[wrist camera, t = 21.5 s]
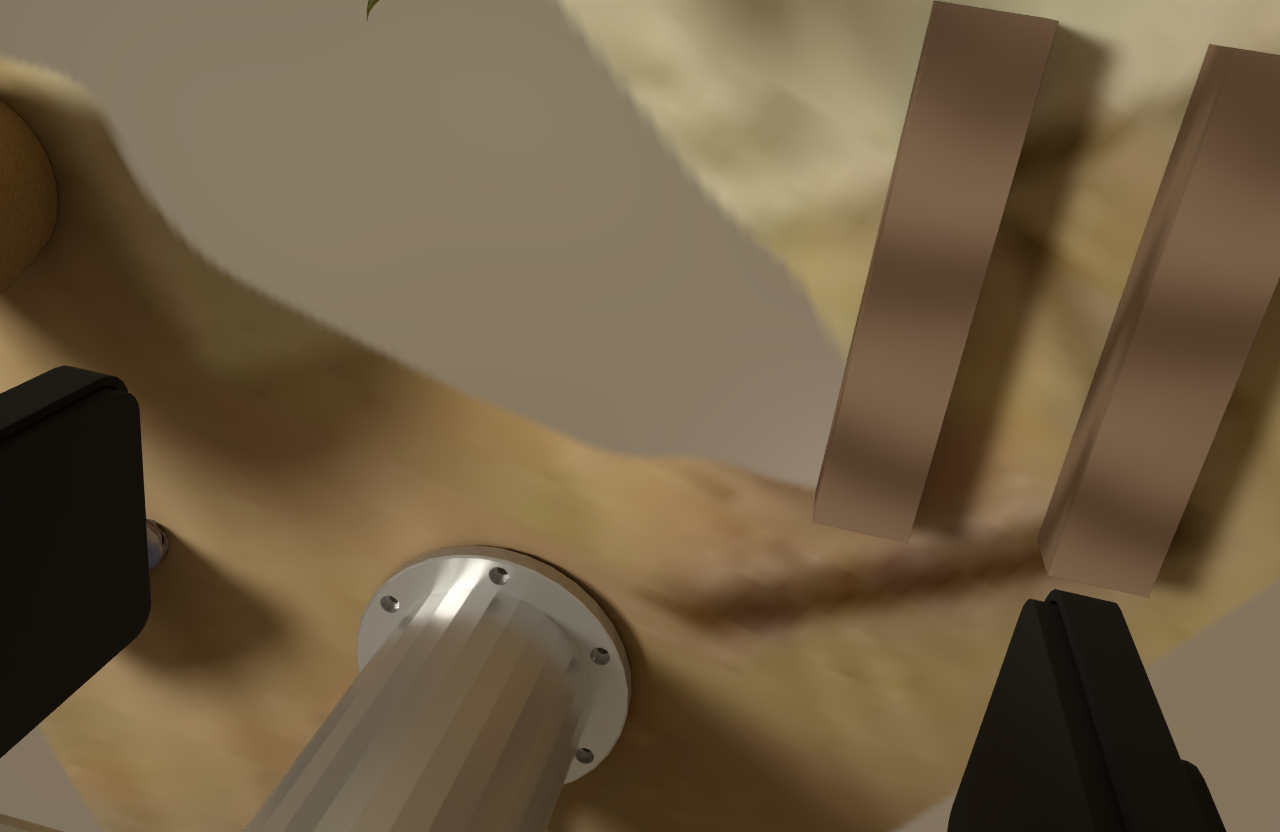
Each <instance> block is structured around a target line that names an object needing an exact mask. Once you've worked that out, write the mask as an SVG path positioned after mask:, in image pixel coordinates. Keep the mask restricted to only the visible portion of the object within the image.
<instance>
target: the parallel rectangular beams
mask: <svg viewBox="0 0 1280 832" xmlns="http://www.w3.org/2000/svg"><path fill="white" fill-rule="evenodd" d="M1058 22H1059V21H1057V20H1052V19H1046V18H1040V17H1034V16H1028V15H1021V14H1015V13H1009V12H1002V11H996V10H990V9H983V8H977V7H971V6H964V5H958V4H952V3H945V2H939V1H934V2H933V7H932V11H931V15H930V19H929V23H928V27H927V32H926V36H925V40H924V44H923V48H922V52H921V56H920V61H919V65H918V69H917V73H916V77H915V81H914V85H913V90H912V94H911V98H910V102H909V106H908V110H907V115H906V119H905V123H904V127H903V131H902V135H901V139H900V144H899V148H898V152H897V156H896V160H895V164H894V168H893V173H892V177H891V181H890V185H889V189H888V193H887V198H886V202H885V206H884V210H883V214H882V218H881V222H880V227H879V231H878V235H877V239H876V243H875V247H874V251H873V256H872V260H871V264H870V268H869V272H868V276H867V281H866V285H865V289H864V293H863V297H862V301H861V305H860V310H859V314H858V318H857V322H856V326H855V330H854V334H853V339H852V343H851V347H850V351H849V355H848V359H847V364H846V368H845V372H844V376H843V380H842V385H841V388H840V393H839V397H838V401H837V405H836V409H835V413H834V417H833V422H832V426H831V430H830V434H829V438H828V442H827V446H826V451H825V455H824V459H823V463H822V467H821V472H820V476H819V480H818V484H817V488H816V493H815V503H814V512H813V521H812V522H813V523H818V524H822V525H827V526H831V527H836V528H840V529H845V530H849V531H853V532H858V533H862V534H867V535H871V536H876V537H880V538H885V539H889V540H893V541H898V542H902V543H907V544H908V541H909V537H910V534H911V530H912V527H913V524H914V520H915V517H916V513H917V510H918V506H919V503H920V499H921V496H922V492H923V489H924V485H925V482H926V479H927V475H928V472H929V468H930V465H931V461H932V458H933V454H934V451H935V447H936V444H937V440H938V437H939V434H940V430H941V427H942V423H943V420H944V416H945V413H946V409H947V406H948V402H949V399H950V395H951V392H952V389H953V385H954V382H955V378H956V375H957V371H958V368H959V364H960V361H961V357H962V354H963V350H964V347H965V344H966V340H967V337H968V333H969V330H970V326H971V323H972V319H973V316H974V312H975V309H976V305H977V302H978V299H979V295H980V292H981V288H982V285H983V281H984V278H985V274H986V271H987V267H988V264H989V260H990V257H991V254H992V250H993V247H994V243H995V240H996V236H997V233H998V229H999V226H1000V222H1001V219H1002V215H1003V212H1004V209H1005V205H1006V202H1007V198H1008V195H1009V191H1010V188H1011V184H1012V181H1013V177H1014V174H1015V170H1016V167H1017V164H1018V160H1019V157H1020V153H1021V150H1022V146H1023V143H1024V139H1025V136H1026V132H1027V129H1028V125H1029V122H1030V119H1031V115H1032V112H1033V108H1034V105H1035V101H1036V98H1037V94H1038V91H1039V87H1040V84H1041V80H1042V77H1043V74H1044V70H1045V67H1046V63H1047V60H1048V56H1049V53H1050V49H1051V46H1052V42H1053V39H1054V35H1055V32H1056V29H1057V25H1058ZM1279 278H1280V55H1275V54H1268V53H1262V52H1256V51H1249V50H1243V49H1237V48H1230V47H1224V46H1218V45H1211V44H1209V47H1208V50H1207V53H1206V56H1205V59H1204V61H1203V64H1202V67H1201V70H1200V73H1199V76H1198V79H1197V82H1196V84H1195V87H1194V90H1193V93H1192V96H1191V99H1190V102H1189V105H1188V108H1187V110H1186V113H1185V116H1184V119H1183V122H1182V125H1181V128H1180V131H1179V133H1178V136H1177V139H1176V142H1175V145H1174V148H1173V151H1172V154H1171V156H1170V159H1169V162H1168V165H1167V168H1166V171H1165V174H1164V177H1163V179H1162V182H1161V185H1160V188H1159V191H1158V194H1157V197H1156V200H1155V202H1154V205H1153V208H1152V211H1151V214H1150V217H1149V220H1148V223H1147V225H1146V228H1145V231H1144V234H1143V237H1142V240H1141V243H1140V246H1139V248H1138V251H1137V254H1136V257H1135V260H1134V263H1133V266H1132V269H1131V271H1130V274H1129V277H1128V280H1127V283H1126V286H1125V289H1124V292H1123V295H1122V297H1121V300H1120V303H1119V306H1118V309H1117V312H1116V315H1115V318H1114V320H1113V323H1112V326H1111V329H1110V332H1109V335H1108V338H1107V341H1106V343H1105V346H1104V349H1103V352H1102V355H1101V358H1100V361H1099V364H1098V366H1097V369H1096V372H1095V375H1094V378H1093V381H1092V384H1091V387H1090V389H1089V392H1088V395H1087V398H1086V401H1085V404H1084V407H1083V410H1082V412H1081V415H1080V418H1079V421H1078V424H1077V427H1076V430H1075V433H1074V435H1073V438H1072V441H1071V444H1070V447H1069V450H1068V453H1067V456H1066V459H1065V461H1064V464H1063V467H1062V470H1061V473H1060V476H1059V479H1058V482H1057V484H1056V487H1055V490H1054V493H1053V496H1052V499H1051V502H1050V505H1049V507H1048V510H1047V513H1046V516H1045V519H1044V522H1043V525H1042V528H1041V530H1040V533H1039V536H1038V539H1037V541H1038V544H1039V548H1040V551H1041V554H1042V558H1043V561H1044V564H1045V568H1046V571H1047V574H1048V575H1049V576H1054V577H1058V578H1063V579H1067V580H1071V581H1076V582H1080V583H1085V584H1089V585H1094V586H1098V587H1103V588H1107V589H1111V590H1116V591H1120V592H1125V593H1129V594H1134V595H1138V596H1143V597H1147V598H1149V596H1150V593H1151V591H1152V588H1153V586H1154V584H1155V581H1156V579H1157V576H1158V574H1159V571H1160V569H1161V566H1162V564H1163V562H1164V559H1165V557H1166V554H1167V552H1168V549H1169V547H1170V544H1171V542H1172V540H1173V537H1174V535H1175V532H1176V530H1177V527H1178V525H1179V523H1180V520H1181V518H1182V515H1183V513H1184V510H1185V508H1186V505H1187V503H1188V501H1189V498H1190V496H1191V493H1192V491H1193V488H1194V486H1195V483H1196V481H1197V479H1198V476H1199V474H1200V471H1201V469H1202V466H1203V464H1204V461H1205V459H1206V457H1207V454H1208V452H1209V449H1210V447H1211V444H1212V442H1213V439H1214V437H1215V435H1216V432H1217V430H1218V427H1219V425H1220V422H1221V420H1222V417H1223V415H1224V413H1225V410H1226V408H1227V405H1228V403H1229V400H1230V398H1231V395H1232V393H1233V391H1234V388H1235V386H1236V383H1237V381H1238V378H1239V376H1240V373H1241V371H1242V369H1243V366H1244V364H1245V361H1246V359H1247V356H1248V354H1249V351H1250V349H1251V347H1252V344H1253V342H1254V339H1255V337H1256V334H1257V332H1258V330H1259V327H1260V325H1261V322H1262V320H1263V317H1264V315H1265V312H1266V310H1267V308H1268V305H1269V303H1270V300H1271V298H1272V295H1273V293H1274V290H1275V288H1276V286H1277V283H1278V281H1279Z"/></svg>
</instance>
